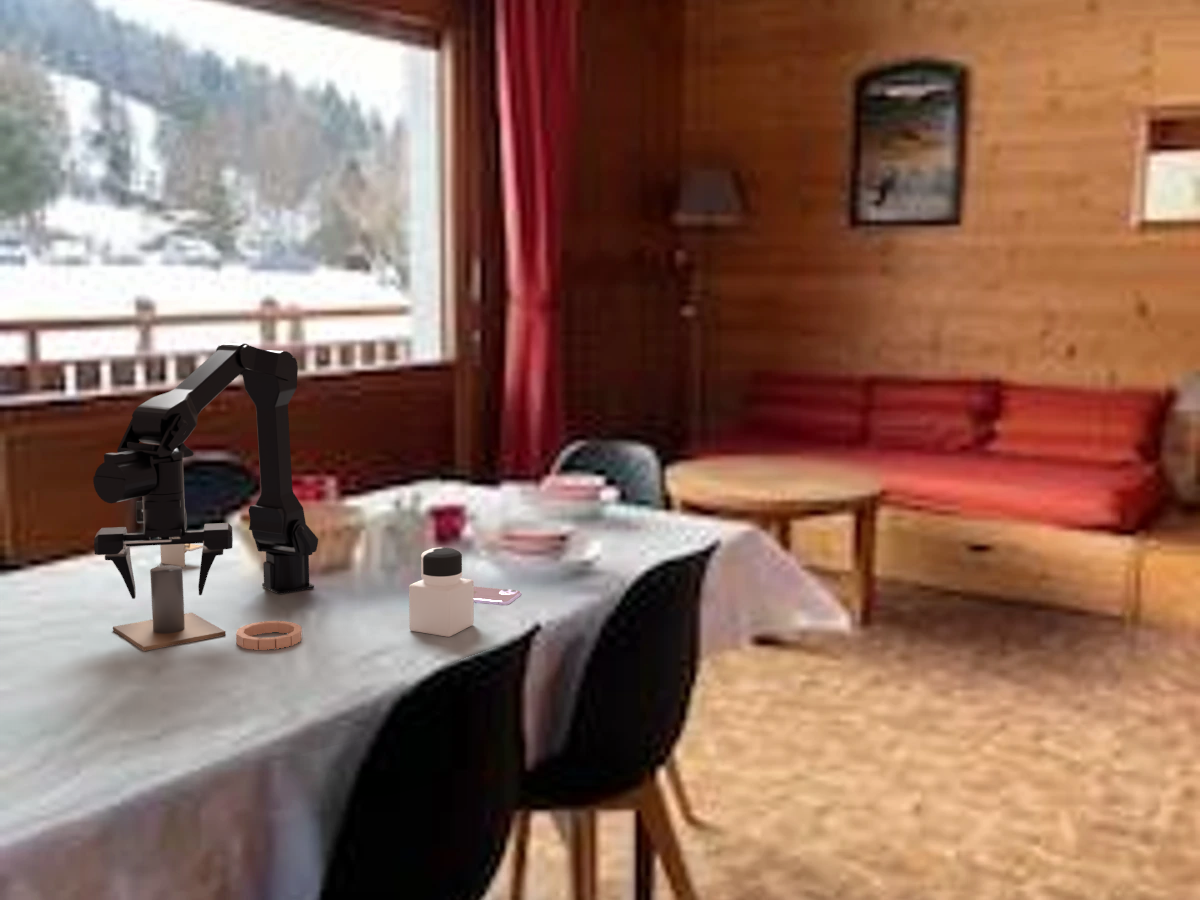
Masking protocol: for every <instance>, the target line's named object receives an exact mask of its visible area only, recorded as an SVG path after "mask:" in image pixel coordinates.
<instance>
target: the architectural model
mask: <svg viewBox="0 0 1200 900" xmlns="http://www.w3.org/2000/svg"><path fill="white" fill-rule="evenodd" d="M177 538H179V537H177ZM177 538H175V537H174V538H172V539H177ZM159 539H161V538H159ZM159 546H160V563H161V564H166V565H173V566H180V567H182V568H183V567H184V568H185V567H186V553H187V552H194V551H197V550H200V549H203V545H199V544H196V543H194V544H171V545H159Z"/></svg>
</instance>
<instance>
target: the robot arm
mask: <svg viewBox="0 0 1200 900" xmlns="http://www.w3.org/2000/svg"><path fill="white" fill-rule="evenodd" d="M298 367H299V366H298V361H297V359H296V357H294V356H293V354H292V353H291V352H290V351H287V350H286V351H285V350H269V349H262V348H259V347H255V346H252V345H249V344H247V343H239V342H224V343H221V344H219V345H218V346H217V348H216V349H215V351H214V353H213V354H211V355H210V356H209V357H208V358H207V359H206V360H205V361H204V362H203V363H201V364H200V365H199V366H198V367H197V368H196V369H195V370H194V371H193V372H191V374H189V375H188V376H187V377H186V378H185V379H184V380H183V381H181V382H180V383H179V384H178V385H177V386H176V387H175V388H173V389H172V390H169V391H168V392H165V393H162V394H159V395H155V396H152V397H151V398H149V399H148V400H146V401H145V402H143V403H141V404H140V405H138V406H136V408H135V409H134V411H133V412H132V414H131V415H132V416H131V417H132V418H131V419H130V421H129V423H128V426H127V428H126V430H125V432H124V434H123V436H122V439H121V441H120V443H119V445H118V447H117V450H116V451H117V452H108V453H107V452H106V453H104V455H103V462H102V463H101V464H99V465H98V467H97V468H96V471H95V472H94V476H93V477H92V478H93V479H92V481H93V487H94V490H95V493H96V494H97V496H98V497H99V498H100V499H101V500H102V501H103V502H104V503H108V504H116V503H119V502H124V501H129V500H132V499H137V498H141V497H142V500H136V501H135V522H136V523H137V524H143V532H130V533H129V532H128V529H127V527H126V526H118V527H101V528H100V529H99V530H98V531H97V532H96V534H95V537H94V540H93V541H94V542H93V544H94V545H93V548H94V549H93V550H94V555H96V556H97V555H98V556H103V555H104V561H111V562H112V563H113V564H114V566H115V567H116V569H117V570H118V572H119V574H120V575H121V578H122V579H123V582H124V583H125V586H126V588H127V590H128V593H129V595H130V597H131V599H133V600H135V599H136V593H137V592H136V581H135V577H134V571H133V565H132V559H131V557H132V556H131V547H141V546H142V547H144V546H145V547H147V546H160V545H171V544H202V546H203V548H202V551H201V559H200V568H199V569H200V570H199V577H198V578H199V579H198V586H197V587H198V596H203V591H204V588H205V585H206V581H207V578H208V576H209V572H210V570H211V568H212V567H211V566H212V565H213V563H214V561H215V558H216V557H217V556H222V555H224V550H231V549H233V541H234V540H233V536H234V535H233V526H232V525H231V524H230V523H229V522H222V523H221V522H219V523H204V527H203V529H200V530H187V528H188V522H187V520H188V518H187V510H186V506H185V505H186V504H185V479H184V478H185V475H184V458H191V457H193V456H194V453H195V452H194V451H193V450H191V448H189V447H188V446H186V444H185V443H184V442H185V441H186V440H187V439H188V437H189V436H190V435H191V434H192V432H193V431H194V430H195V428H196V427H197V425H198V419H199V414H200V413H201V411H203V410H204V408H206V407H207V406H208V405H209V404H210V403H211V402H212V401H213V400H214V399H215V398H216V397H217V396H219V394H221V392H223V391H224V390H225V389H226V388H227V387H228V386H229V385H230V384H231V383H232V382H233V381H234V380H235V379H236V378H237V377H238V376H242V380H243V381H242V382H243V385H244V390H245V392H246V393H247V394H248V396H249V398H250V399H251V401H252V402H253V404H254V406H255V412H256V427H257V428H256V430H257V445H258V461H259V462H258V463H259V465H258V466H259V479H260V481H259V482H260V495H259V496H258V499H257V501H256V502H255V504H253V505H252V504H251V505H250V506H249V507H248V515H249V526H248V530H249V531H251V534H252V538H253V539H254V541H255V545H256V548H257V551H258V552H261V553H262V552H264V553H265V561H263V567H262V568H263V582H262V584H261V585H262V586H261V587H263V588H265V589H267V590H269V591H271V592H274V593H276V594H278V595H282V594H287V593H293V592H299V591H305V590H311V589H314V588H315V585H314V584H313V583H310V556H312V555H313V553H315V552H317V548H318V544H319V538H318V537H317V536H316V534H315V533H314V532H313V531H312V530H311V528H310V527H309V526H308V525H307V521H306V516H305V511H304V507H303V505H302V504H301V502H300V500H299V499H298V498H297V496H296V494H295V493H294V491H293V490H294V489H293V473H292V456H291V439H290V421H289V420H290V419H289V403H290V401H291V400H292V398H293V396H294V394H295V393H296V390H297V388H298V371H299V369H298ZM174 537H175V538H177V537H179V538H177V539H172V538H174ZM151 538H153V539H151ZM160 538H161V539H160Z"/></svg>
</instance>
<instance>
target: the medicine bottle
mask: <svg viewBox="0 0 1200 900" xmlns="http://www.w3.org/2000/svg"><path fill="white" fill-rule="evenodd" d="M420 568H421V569H420V575H421V576H420V577H421V580H418V581H415V582H414V583H411V584H410V585H409V587H408V593H409V594H408V595H409V596H408V601H409V602H408V604H409V605H408V607H409V609H408V610H409V612H408V613H409V617H408V618H409V619H408V621H409V624H408V625H409V626H408V627H409V631H410V632H417V633H421V634H422V633H424V634H428V635H435V636H440V637H447V638H450V637H452V636H454V635H456V634H458V633H460V632H462V631H464V630H466V629H468V628H470V627H472V626H473V625H474V614H475V613H474V612H475V611H474V605H475V604H474V603H475V602H474V587H475V585H474V584H475V583H474V580H473V579H471V578H470V579H469V578H462V577H463V554H462V553H461V552H460V551H459V550H457V549H456V548H455V549H454V548H451V547H433V548H429V549H427V550H425V551H423V552H422V553H421V554H420Z"/></svg>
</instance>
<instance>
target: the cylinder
mask: <svg viewBox="0 0 1200 900" xmlns="http://www.w3.org/2000/svg"><path fill="white" fill-rule="evenodd" d="M149 573H150V587H151V588H150V590H151V591H150V594H151V596H150V597H151V612H152V613H151V614H152V616H151V618H152V620H153V631H154V632H156V633H162V634H167V633H175V632H179V631H182V630H184V629H185V621H184V614H185V602H184V601H185V600H184V599H185V597H184V578H183V577H184V576H183V566H177V565H171V564H167V565H161V566H155V567H152V568H151V569H150V572H149Z"/></svg>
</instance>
